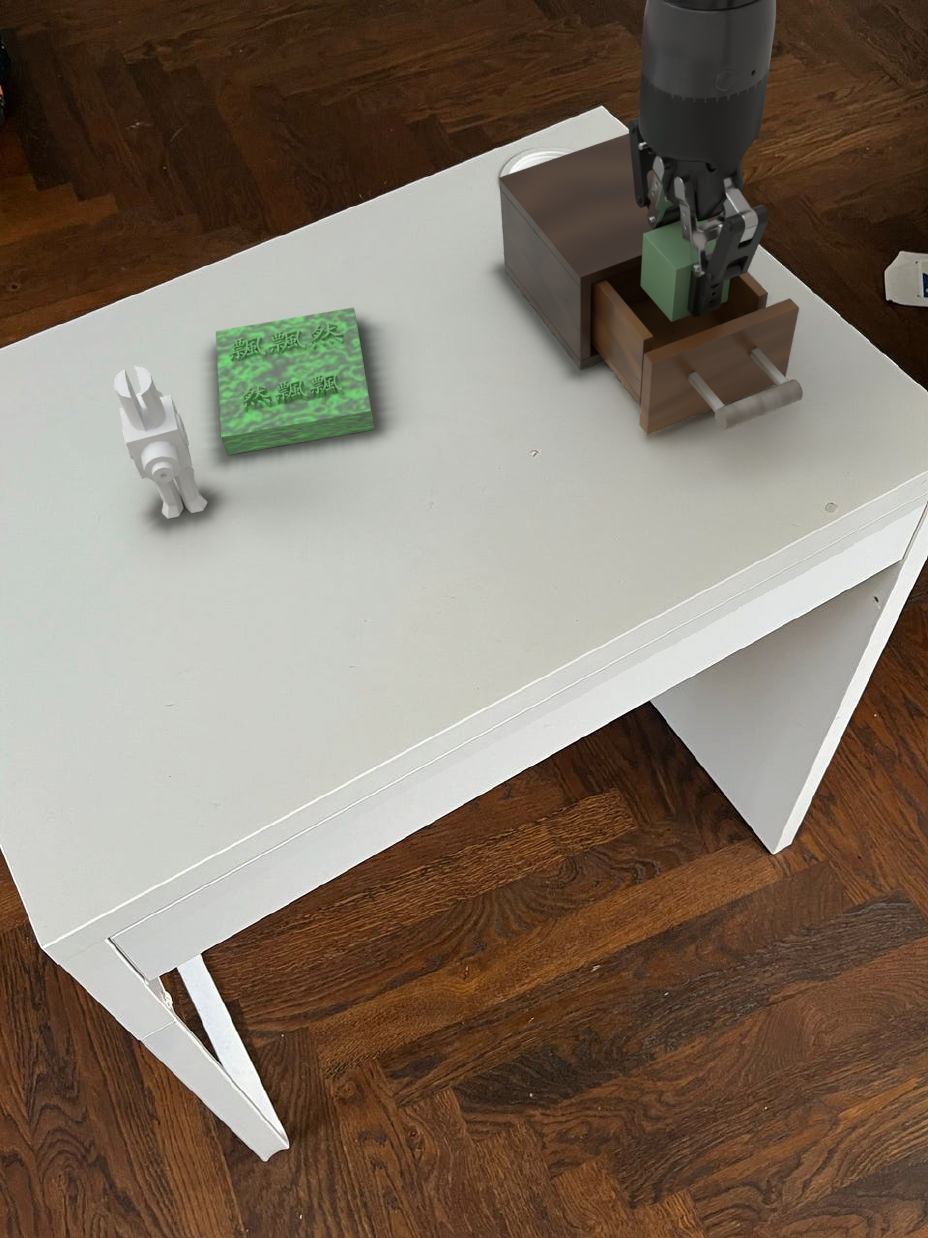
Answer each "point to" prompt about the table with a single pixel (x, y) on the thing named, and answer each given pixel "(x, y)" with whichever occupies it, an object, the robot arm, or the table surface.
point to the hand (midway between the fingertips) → (684, 289)
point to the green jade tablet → (292, 381)
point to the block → (670, 269)
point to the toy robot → (158, 442)
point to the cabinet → (572, 235)
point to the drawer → (696, 352)
